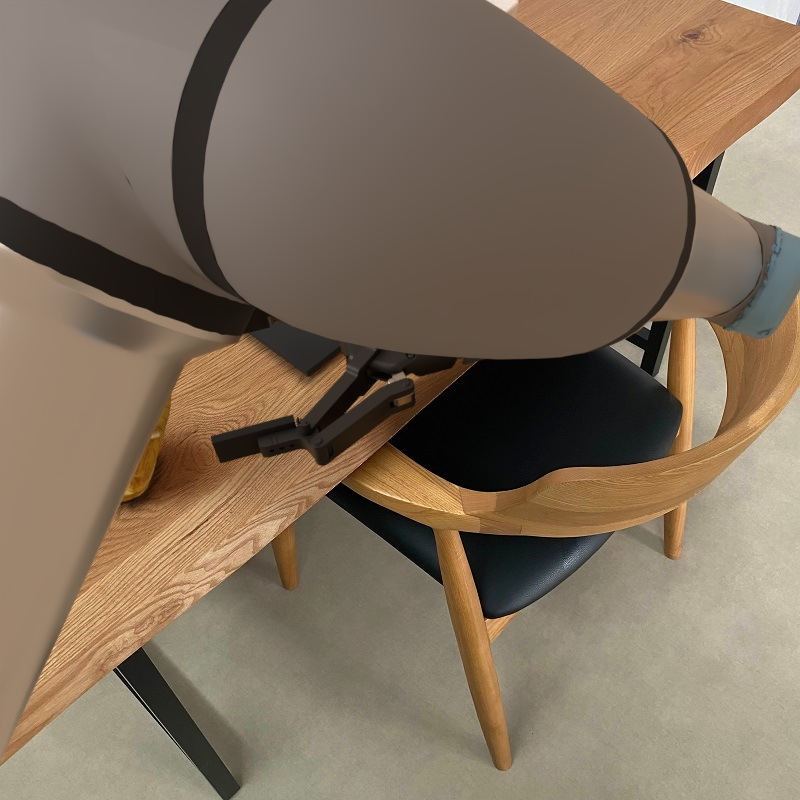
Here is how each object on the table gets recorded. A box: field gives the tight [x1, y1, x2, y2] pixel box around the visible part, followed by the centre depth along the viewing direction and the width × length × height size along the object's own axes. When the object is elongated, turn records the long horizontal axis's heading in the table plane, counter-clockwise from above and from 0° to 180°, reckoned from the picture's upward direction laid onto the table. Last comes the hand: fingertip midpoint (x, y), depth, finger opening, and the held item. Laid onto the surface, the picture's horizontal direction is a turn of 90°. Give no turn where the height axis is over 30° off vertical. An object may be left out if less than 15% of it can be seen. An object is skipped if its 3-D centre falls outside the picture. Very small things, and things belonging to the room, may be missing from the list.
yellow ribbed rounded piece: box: [120, 393, 173, 506], centre depth 66 cm, size 12×8×15 cm
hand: (203, 387), depth 66 cm, fingers open, 13 cm apart
